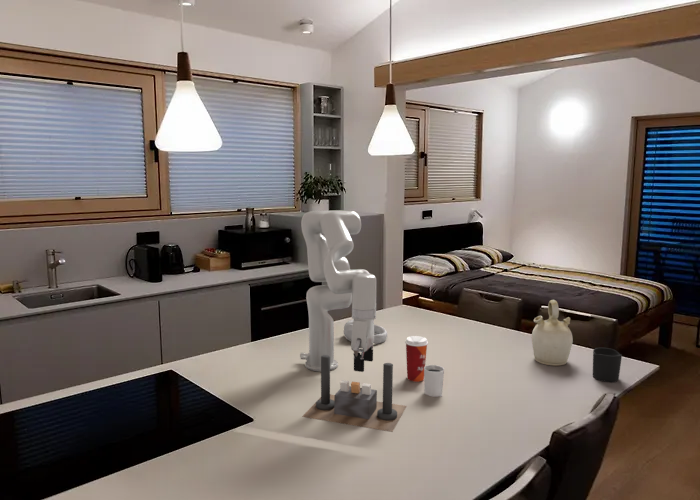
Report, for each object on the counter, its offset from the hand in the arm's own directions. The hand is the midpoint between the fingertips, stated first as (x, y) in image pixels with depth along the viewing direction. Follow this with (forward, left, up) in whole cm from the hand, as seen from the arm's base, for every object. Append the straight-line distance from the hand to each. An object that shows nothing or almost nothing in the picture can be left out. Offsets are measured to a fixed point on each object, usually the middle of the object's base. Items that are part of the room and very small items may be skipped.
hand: (363, 365), depth 169 cm
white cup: (+20, +15, -14) cm, 28 cm away
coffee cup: (+11, +29, -14) cm, 34 cm away
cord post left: (-10, -7, -12) cm, 17 cm away
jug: (+58, +66, -14) cm, 89 cm away
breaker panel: (0, -7, -14) cm, 15 cm away
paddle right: (+3, -7, -6) cm, 10 cm away
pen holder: (+77, +53, -14) cm, 94 cm away
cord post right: (+10, -7, -12) cm, 17 cm away
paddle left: (-4, -7, -6) cm, 10 cm away
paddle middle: (0, -7, -6) cm, 9 cm away
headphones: (-21, +68, -14) cm, 72 cm away
